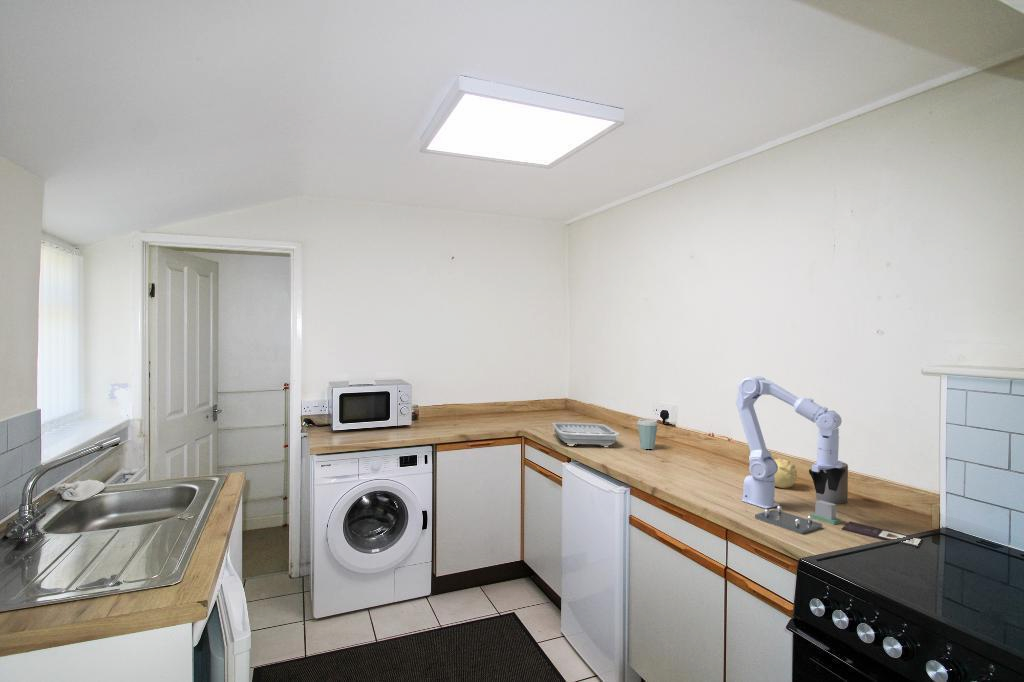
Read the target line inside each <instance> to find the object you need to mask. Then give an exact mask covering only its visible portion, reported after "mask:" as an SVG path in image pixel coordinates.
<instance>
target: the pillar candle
mask: <svg viewBox="0 0 1024 682" xmlns="http://www.w3.org/2000/svg"><path fill="white" fill-rule="evenodd" d="M816 462H817V460H816ZM816 462H815V463H816ZM842 469H845V473H844V474H843V476H842V477H841V479H840V482H839V485H838V488H837V491H833V490H829V488H828V479H827V482H826V486H825V492H824V494H819V493H816V492H815V499H816V500H817V499H818V500H822V501H825V502H829V503H833V504H844V505H847V504H848V496H849V495H848V492H849V487H848V486H849V484H848V483H849V465H848V464H847V462H844V461H842ZM823 472H824V473H826V470H823ZM818 500H817V501H818ZM846 503H847V504H846Z"/></svg>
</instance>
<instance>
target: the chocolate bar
mask: <svg viewBox="0 0 1024 682" xmlns="http://www.w3.org/2000/svg"><path fill="white" fill-rule="evenodd" d="M841 531H845V532H849V533H853V534H858V535H861V536H865V537H870V538H874V539H878V540H881V541H884V540H892V539H897V538H903V537H906V536H910V535H909V534H904V533H902V532H901V533H900V532H895V531H892V530H888V529H884V528H880V527H875V526H871V525H868V524H867V525H866V524H863V523H858V522H854V521H848V522H847V523H846V524H845V525H844V526H842V528H841ZM916 537H917V536H916ZM921 540H922V538H921V537H917V538H913V539H910V540H906V541H903V542H902V541H901V542H899V543H902V544H905V545H909V546H912V547H915V548H914V549H917V548H918V547H917V546H919V545H920V544H921V542H922V541H923V540H922V541H921ZM920 541H921V542H920ZM919 543H920V544H919ZM918 544H919V545H918ZM912 547H911V548H912Z"/></svg>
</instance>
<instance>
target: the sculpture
mask: <svg viewBox="0 0 1024 682" xmlns="http://www.w3.org/2000/svg"><path fill="white" fill-rule="evenodd" d="M773 459H774V458H773ZM774 460H775V462H776V463H777V465H778V470H777V472H776V474H774V478H775V487H777V488H781V489H788V488H791V487H793V486H794V484H795V483H796V481H797V475H798V474H797V473H798V472H797V468H796V465H795V464H794V463H792V462H790V461H789V460H787V459H784V458H782V457H781V458H775V459H774Z"/></svg>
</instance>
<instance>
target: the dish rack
mask: <svg viewBox="0 0 1024 682" xmlns="http://www.w3.org/2000/svg"><path fill="white" fill-rule="evenodd" d="M551 425H552V426H553V427H554V433H555V435H556V436H558V437H559V439H560V440H561V441H563V442H564V443H565V444H566V443H567V444H576V445H577V444H578V445H600V446H601V447H602V446H609V447H610V445H613V444H615V443H616V442H617V441H616V440H617V437H618V436H620V433H619V432H618V431H616V430H614V429H612V428H611V427H610V426H608V425H607V424H604V423H603V424H602V423H590V422H589V423H588V422H587V423H586V422H559V421H558V422H552V423H551ZM567 444H566V445H567Z"/></svg>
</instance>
